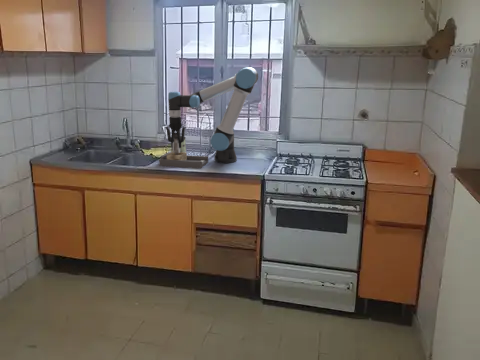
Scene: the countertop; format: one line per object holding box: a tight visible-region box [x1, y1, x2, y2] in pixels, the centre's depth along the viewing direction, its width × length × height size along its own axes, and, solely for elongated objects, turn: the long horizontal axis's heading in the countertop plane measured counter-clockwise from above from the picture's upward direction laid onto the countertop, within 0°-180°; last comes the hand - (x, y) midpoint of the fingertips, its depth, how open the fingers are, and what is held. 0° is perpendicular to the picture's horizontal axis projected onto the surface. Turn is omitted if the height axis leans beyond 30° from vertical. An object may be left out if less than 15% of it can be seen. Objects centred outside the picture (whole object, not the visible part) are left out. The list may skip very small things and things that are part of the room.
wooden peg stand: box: [167, 132, 188, 160], centre depth 291 cm, size 10×10×19 cm
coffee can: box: [170, 136, 187, 153], centre depth 309 cm, size 10×10×14 cm
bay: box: [158, 152, 209, 169], centre depth 292 cm, size 28×16×6 cm, turn 78°
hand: (176, 152), depth 292 cm, fingers closed on wooden peg stand, 3 cm apart
